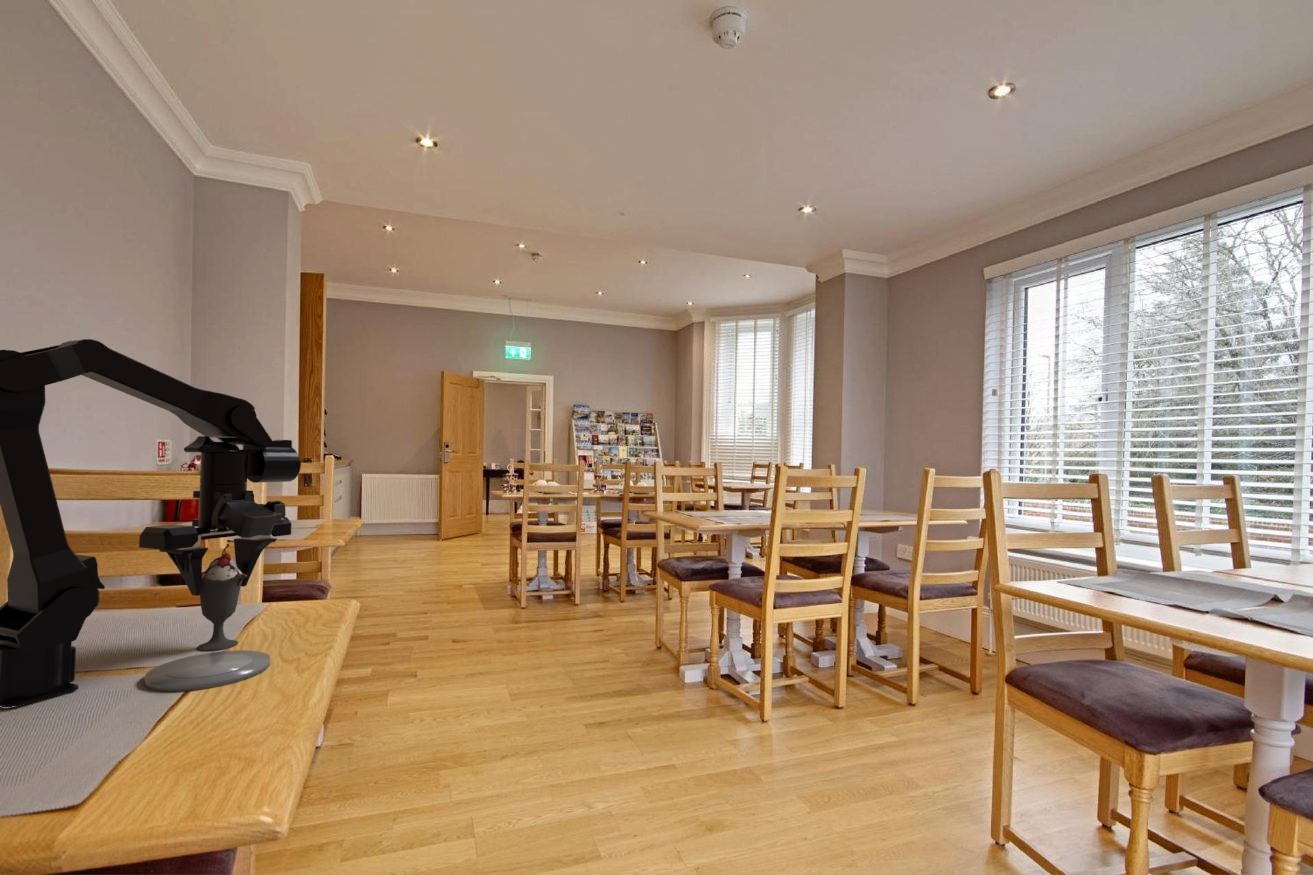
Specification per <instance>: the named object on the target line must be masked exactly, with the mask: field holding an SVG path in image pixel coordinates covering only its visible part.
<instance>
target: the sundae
mask: <svg viewBox="0 0 1313 875" xmlns="http://www.w3.org/2000/svg"><path fill="white" fill-rule="evenodd" d="M229 547H230V543H226V546H225V547H224V549H223V550H222V552H221V556H219V557H217V558H215V559H213V560H212V561H211V562H210V563H209V565H208V567H207V568H206V570H205V571H202V582H201V591H200V595H199V601H200V609H201V613H202V616H203V617H204V618H205V619H206V620H208V621H209V622H211V623H212V624H213V629H212V631H213V632H212V634H211V635H212V636H211V637H210V639H209V640H208V641H207V642H204V643H201V644H199V645H198V646H197V647H196V649H197V650H198V651H201V652H212V651H213V652H216V651H222V650H226V649H230V648H233V647H235V646H237V645H238V643H239V641H237V640H235V639H229V638H227V636H226V635H225V633H224V625H225V624H224V623H225V621H226V620H228V619H229V618H230V617H232V616H233V614H234V613H235V612H236V609H237V605H238V601H239V596H240V591H241V590H240V589H241V587H242V586H241V583H242V580H243V579H244V578H246V577H247V576H248V575H246V574H244V573H242V572H241V571H240V570H239V569H238V568H237V565H236V560H234V559H233V558H232V556H231V554H230V553H228V552H227V551H226V550H227V549H228V548H229Z"/></svg>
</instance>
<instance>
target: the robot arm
mask: <svg viewBox="0 0 1313 875" xmlns="http://www.w3.org/2000/svg"><path fill="white" fill-rule="evenodd" d="M80 376H83V377H86V378H88V379H90V380H92V381H95V382H97V383H100V384H102V385H105V386H108V387H109V388H111V389H112V388H113V389H114V390H118V391H120V392H122V393H124V394H126V395H130V396H131V397H133V398H136V399H139V400H141V401H144V402H146V403H149V404H151V405H154V406H155V407H159V408H161V409H163V410H166V411H168V412H170V413H171V414H174V415H175V416H176V417H177V418H178V419H180V420H181V422H182V423H183V424H184V425H185V426H188V427H189V428H191V429H192V430H194V431H196V432H197V433H199V434H201V435H200V436H197V437H196V439H195V440H194V441H193V442H191V443H190V444H188V445H186V446H185V447H184V448H183V451H184V452H185V453H200V466H199V467H200V469H199V470H200V471H199V472H200V473H199V490H192V498H193V499H198V518H193V519H192V520H191V525H185V524H165V525H164V524H163V525H152V526H151V525H150V526H146V527H145V528H144V529H143V531H142V532H141V533H140V534H139V542H138V544H139V545H138V548H140V549H149V550H151V549H152V550H159V552H160V553H167V555H168V556H169V558H170V559H171V561H172V562H173V564H174V565H175V566H176V568H177V569H178V571H179V573H180V575H181V577H182V579H183V580H184V582H185V584H186V587H187V588H188V590H189V592H190V594H191V595H192V596H194V597H198V596H200V591H201V582H202V573H203V558H204V556H205V554H206V553H207V552H208V551H209V547H202V541H204V540H213V539H222V538H229V537H235V538H233V546H234V558H235V560H234V561H235V563H236V565H237V568H238V569H239V570H240V571H241V572H242V573H244V574H246V575H248V576H247V577H246V578H244V579H243V580H242V583H241V587H247V585H248V582H249V580H250V579H251V575H252V574H253V570H254V569H255V566H256V564H257V561H258V559H259V557H260V556H261V554H262V552H263V551H264V550H265V549H266V548H267V547H268V546H269V545H271V544H272V543H276V542H277V540H278V538H277V537H283V536H291V535H292V522H291V521H290V519H289V518H288V517H287V516H286V513H287V512H286V503H285V502H283V501H281V500H270V501H267V502H266V503H256V501H255V494H254V491H253V490H248V481H249V482H251V483H254V484H255V483H257V484H258V483H259V484H260V483H285V482H292V481H294V480H296V479H297V477H298V476H299V474H300V470H301V467H302V461H301V460H300V457H299V453H298V452H297V451H296V449H294V447H293V440H292V439H275V440H272V438H271V436H270V435H269V433H268V432H267V430H266V429H265V427H264V425H263V424H262V423H261V422H260V420H259V419H258V417H257V412H256V410H255V409H256V407H255V406H254V405H253V404H252V403H251V402H249V401H248V400H246V399H243V398H240V397H236V396H232V395H228V394H225V393H221V392H217V391H210V390H206V389H201V388H199V387H198V388H197V387H195V386H193V385H191V384H188V383H186V382H184V381H182V380H180V379H177V378H175V377H173V376H171V375H169V374H166V373H165V372H161V371H159V370H158V369H155V368H154V367H151V366H149V365H146V364H145V363H142V362H141V361H138V360H135V359H134V358H132V357H130V356H127V355H125V354H122V353H120V352H119V351H116V350H114V349H112V348H110V347H108V346H107V345H105V344H104V343H103V342H101V341H99V340H96V339H92V338H91V339H89V338H88V339H86V338H84V339H78V340H77V339H75V340H68V341H64V342H62V343H61V344H58V345H52V346H49V347H43V348H37V349H32V350H26V351H22V352H20V351H17V350H11V349H0V509H1V513H2V516H3V520H4V524H5V528H6V530H7V534H8V538H9V542H10V545H11V550H12V553H13V554H12V555H13V557H12V561H11V564H10V569H9V572H8V575H7V579H6V582H7V586H6V587H7V601H6V602H5V603H4V604H2V605H1V606H0V706H2V707H12V706H18V707H21V706H24V705H23V704H25V705H28V704H31V703H35V702H38V701H43V700H46V699H49V698H52V697H56V696H59V695H64V694H67V693H70V692H73V691H77V690H79V684H76V683H73V682H74V681H75V678H76V660H77V659H76V658H77V657H76V656H77V648H76V646H74V645H72V643H73V642H74V641H77V638H78V636H80V632H81V630H82V628H83V627H84V626H83V625H84V624H85V621H86V619H87V618H89V616H91V615H92V613H93V612H94V610H95V609H96V608H97V607H98V606H99V604H100V603H99V602H100V591H99V590H104V589H106V586H105V585H104V583H102V581H101V578H99V573H98V572H99V571H98V570H99V569H98V568H99V566H98V562H97V558H96V557H95V556H92V555H91V556H90V555H83V554H77V553H75V552H74V551H73V550H72V548H71V547H70V545H69V543H68V542H69V541H68V538H67V534H66V532H65V527H64V524H63V519H62V516H61V511H60V507H59V504H58V501H57V497H56V493H55V489H54V485H53V481H52V480H53V479H52V477H51V473H50V470H49V465H48V461H47V458H46V454H45V450H44V446H43V441H42V438H41V433H40V425H41V424H40V423H41V420H42V416H43V413H44V410H45V406H46V386H48V385H52V384H56V383H60V382H64V381H67V380H70V379H73V378H75V377H80ZM211 438H212V439H211ZM213 439H217V440H219V441H214V440H213ZM239 446H242V449H240V448H239ZM20 705H21V706H20Z"/></svg>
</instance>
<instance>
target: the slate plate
mask: <svg viewBox="0 0 1313 875" xmlns="http://www.w3.org/2000/svg"><path fill="white" fill-rule="evenodd" d="M270 665H271V657H270V655H269V654H268V653H266V652H263V651H257V650H250V649H249V650H248V649H247V650H244V649H243V650H242V649H240V650H225V651H224V650H223V651H222V650H220V651H213V652H212V651H211V652H207V653H206V652H205V653H201V654H195V655H191V656H186V657H181V658H178V659H175V660H171V661H168V662H166V663H162V664H160V665H158V666H156V667H153V668H152V669H150V670H149V671H147V672H146V674H145V676H144V686H146V688H149V689H150V690H153V691H159V692H161V691H162V692H188V691H189V692H190V691H199V690H205V689H212V688H217V687H221V686H223V687H224V686H227V685H230V684H234V683H238V682H241V681H244V680H245V681H246V680H248V679H249V678H250V679H251V678H253V677H255V676H258V675H259V674H261V673H263V672H265V671H267V669H268V668H269V667H270Z"/></svg>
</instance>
